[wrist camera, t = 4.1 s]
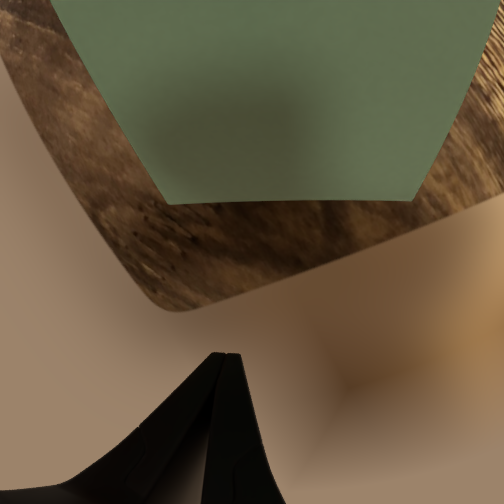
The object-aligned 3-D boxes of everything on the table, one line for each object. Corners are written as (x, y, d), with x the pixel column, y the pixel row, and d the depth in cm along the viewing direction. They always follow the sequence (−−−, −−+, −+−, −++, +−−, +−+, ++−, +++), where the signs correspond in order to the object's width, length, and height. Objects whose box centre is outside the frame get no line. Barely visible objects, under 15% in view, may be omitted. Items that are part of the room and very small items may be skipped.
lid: (46, -44, 4) (30, -35, 4) (498, -61, 3) (515, -52, 2) (170, 191, 15) (167, 205, 15) (409, 187, 14) (412, 202, 14)
